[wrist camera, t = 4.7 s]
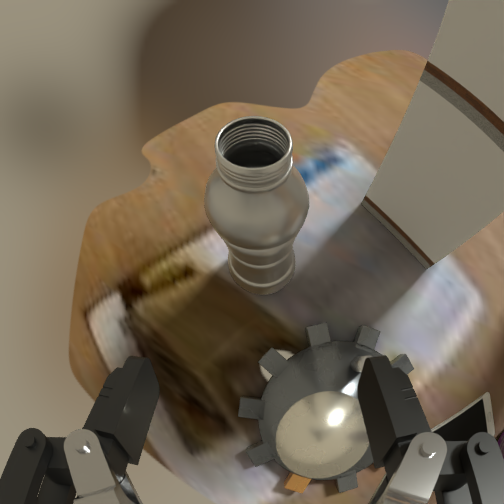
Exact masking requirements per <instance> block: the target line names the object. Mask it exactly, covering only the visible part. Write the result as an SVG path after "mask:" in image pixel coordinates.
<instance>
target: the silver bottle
mask: <svg viewBox="0 0 504 504" xmlns="http://www.w3.org/2000/svg"><path fill="white" fill-rule="evenodd" d="M292 150H293V143H292V138H291V135H290V133H289V132H288V130H287V129H286V128H285V127H284V126H283V125H282V124H280V123H279V122H277V121H275V120H273V119H270V118H266V117H261V116H248V117H242V118H238V119H236V120H233V121H231V122H229V123H228V124H226V125H225V126H224V127H222V129H221V130H220V131H219V132H218V134H217V136H216V139H215V153H216V167H217V168H216V169H215V170H214V171H213V173H212V174H211V175H210V177H209V179H208V182H207V185H206V190H205V196H204V208H205V211H206V215H207V217H208V219H209V221H210V223H211V224H212V226H213V228H214V229H215V231H216V232H217V233H218V234H219V235H220V237H221V238H222V239H223V240H224V242H225V243H226V245H227V247H228V250H229V254H228V265H229V270H230V274H231V276H232V277H233V279H234V280H235V282H236V283H237V284H238V285H239V286H241V287H242V288H243V289H245V290H247V291H249V292H251V293H254V294H259V295H267V294H272V293H275V292H277V291H279V290H281V289H282V288H283V287H284V286H286V285H287V284H288V282H289V281H290V280H291V278H292V276H293V274H294V271H295V266H296V261H295V254H294V250H293V243H294V240H295V238H296V236H297V234H298V233H299V231H300V229H301V228H302V226H303V224H304V222H305V219H306V217H307V213H308V209H309V195H308V191H307V188H306V185H305V182H304V180H303V178H302V176H301V174H300V173H299V172H298V170H297V169H296V168H295V167H294V166H293V157H292Z"/></svg>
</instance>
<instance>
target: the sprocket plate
mask: <svg viewBox="0 0 504 504" xmlns="http://www.w3.org/2000/svg"><path fill="white" fill-rule="evenodd" d="M305 330H306V335H307V339H308V344H309V347H308V348H306V349H304V350H302V351H300V352H298V353H296V354H295V355H293V356H292V357H290V358H289V359H288V360H286V359H285V358H284V357H283V356H281V355H280V354H279V353H278V352H277V351H276V350H275V349H274V348H271V349H270V350H269V351H268V352H267V353H266V354H265V355H264V356H263V358H262V359H261V360H260V361H259V362H258V363H259V364H260V365H262V366H263V367H264V368H265V369H266V370H267V371H269V373H271V374H272V375H273V376H272V377H271V378H270V380H269V382H268V383H267V385H266V387H265V390H264V392H263V395H262V398H256V397H248V396H241V398H240V406H239V413H238V417H244V418H252V419H259V429H260V434H261V437H262V441H260V442H258V443H256V444H254V445H252V446H250V447H247V449H246V453H247V454H248V456H249V457H250V459H251V461H252V462H253V464H254V465H255V467H257V466H259V465H261V464H264V463H266V462H268V461H270V460H272V459H274V460H275V461H276V462H277V463H278V464H280V465H281V466H282V467H283V468H285V469H286V470H288V471H290V473H289V475H288V477H287V478H286V480H285V482H284V488H286V489H289V490H293V491H296V492H299V493H303V492H304V490H305V488H306V487H307V485H308V484H309V482H310V480H311V479H316V480H332V479H335V481H336V487H337V489H338V491H339V493H341V492H344V491H348V490H351V489H354V488H357V487H358V484H357V477H356V473H357V472H359V471H361V470H363V469H365V468H366V467H368V466H369V465H371V464H372V463H374V461H373V457H372V453H371V448H370V444H369V440H368V436H367V432H366V428H365V424H364V420H363V416H362V412H361V408H360V404H359V400H358V395H357V387H358V382H359V379H360V375H361V372H362V369H363V365H364V362H365V359H366V358H367V357H376V356H382V355H381V354H380V353H378V352H377V351H375V350H374V348H375V345H376V342H377V340H378V337H379V334H380V331H378V330H375V329H373V328H370V327H368V326H365V325H362V326H359V329H358V331H357V334H356V337H355V339H354V342H349V341H332V342H331V340H330V335H329V331H328V327H327V322H326V323H322V324H318V325H314V326H309V327H307V328H305ZM390 364H391V366H392V368H397V367H399V368H400V369H401V370H402V371H403V372H404V373H405V374H406V375H407V374H408V373H410V372H411V371H412V370H413V369H414V368H413V366H412V364H411V362H410V361H409V359H408V357H407V355H406V354H400V355H399V356H397V357H396V358H395V359H394V360H392V361H391V362H390Z"/></svg>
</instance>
